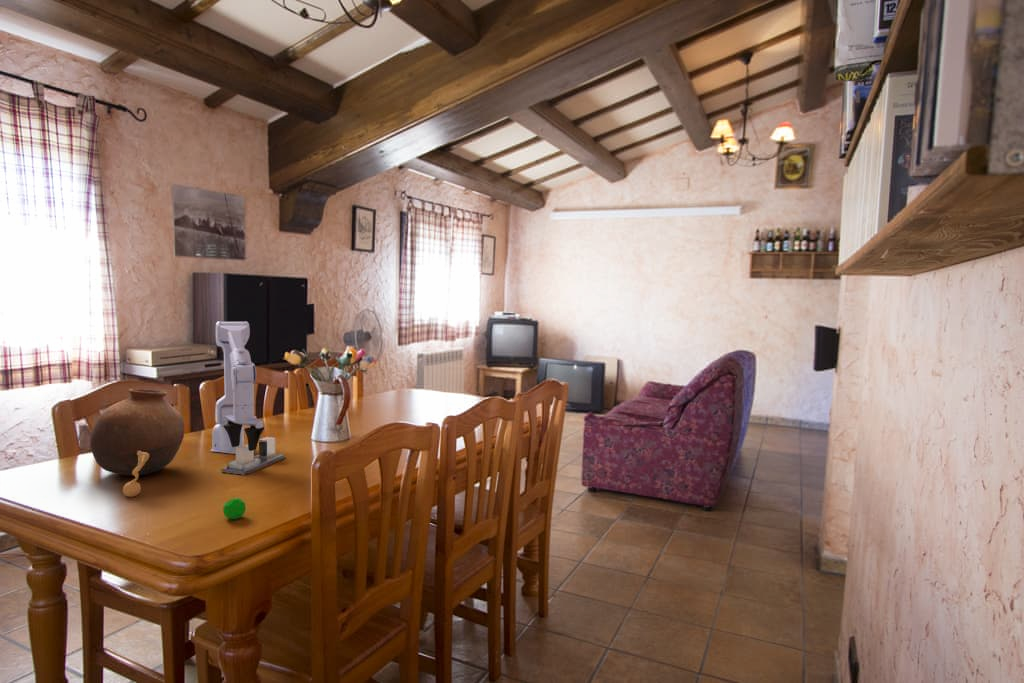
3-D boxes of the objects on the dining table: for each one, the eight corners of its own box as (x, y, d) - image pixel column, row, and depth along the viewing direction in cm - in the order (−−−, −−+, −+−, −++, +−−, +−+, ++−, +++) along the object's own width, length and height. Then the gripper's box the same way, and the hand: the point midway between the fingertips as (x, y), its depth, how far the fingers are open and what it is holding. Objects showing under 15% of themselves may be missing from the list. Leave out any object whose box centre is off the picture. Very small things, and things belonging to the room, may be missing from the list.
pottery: (73, 483, 165) (70, 394, 163) (129, 460, 188) (127, 381, 186) (154, 487, 165) (153, 397, 163) (200, 463, 188) (199, 384, 186)
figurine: (124, 492, 160) (123, 448, 159) (150, 489, 162) (150, 446, 161) (121, 502, 152) (120, 456, 151) (149, 499, 155) (148, 453, 154)
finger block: (235, 466, 182) (235, 447, 182) (248, 463, 186) (248, 444, 185) (242, 468, 181) (242, 448, 180) (254, 464, 184) (254, 445, 184)
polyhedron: (235, 523, 141) (235, 503, 141) (218, 520, 143) (218, 501, 142) (250, 516, 146) (250, 496, 146) (233, 513, 147) (233, 494, 147)
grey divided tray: (221, 472, 179) (221, 449, 179) (264, 455, 198) (264, 434, 198) (244, 475, 177) (244, 452, 177) (285, 457, 197) (285, 436, 196)
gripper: (271, 404, 182) (271, 448, 183) (238, 399, 188) (239, 442, 189) (251, 408, 175) (251, 454, 176) (218, 402, 182) (219, 446, 183)
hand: (243, 448), depth 183 cm, fingers open, 7 cm apart
